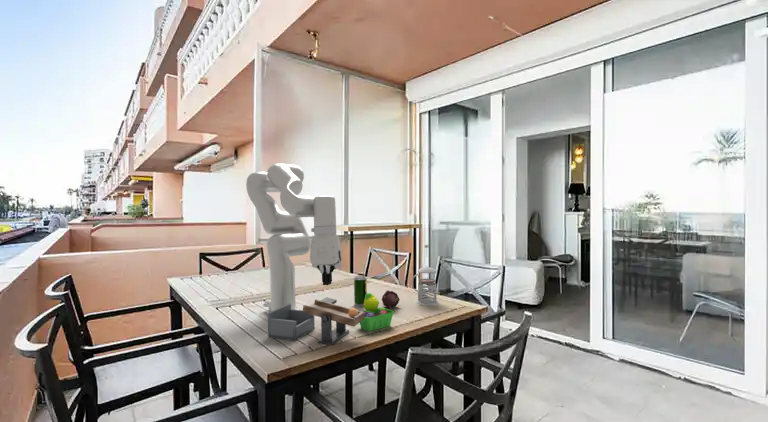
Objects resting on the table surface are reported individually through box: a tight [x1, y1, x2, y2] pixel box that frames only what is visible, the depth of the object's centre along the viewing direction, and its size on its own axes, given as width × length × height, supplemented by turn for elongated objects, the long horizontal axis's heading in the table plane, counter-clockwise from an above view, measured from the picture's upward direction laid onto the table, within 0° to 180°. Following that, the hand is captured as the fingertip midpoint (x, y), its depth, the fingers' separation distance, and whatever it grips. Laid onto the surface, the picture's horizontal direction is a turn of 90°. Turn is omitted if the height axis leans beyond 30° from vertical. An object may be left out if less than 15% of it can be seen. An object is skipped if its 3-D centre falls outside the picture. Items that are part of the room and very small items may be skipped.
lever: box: [302, 296, 365, 327], centre depth 122 cm, size 18×16×2 cm
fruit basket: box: [359, 292, 395, 332], centre depth 129 cm, size 11×9×11 cm
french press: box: [411, 244, 440, 307], centre depth 159 cm, size 10×12×25 cm
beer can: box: [353, 274, 368, 307], centre depth 158 cm, size 5×5×12 cm
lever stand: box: [317, 315, 350, 346], centre depth 118 cm, size 5×13×8 cm, turn 161°
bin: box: [267, 304, 316, 342], centre depth 123 cm, size 10×12×8 cm
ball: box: [348, 307, 359, 318], centre depth 116 cm, size 3×3×3 cm
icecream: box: [381, 290, 400, 309], centre depth 153 cm, size 7×7×15 cm
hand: (327, 284), depth 127 cm, fingers closed
